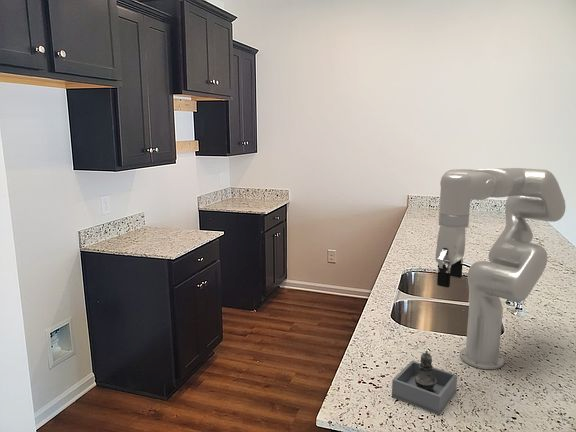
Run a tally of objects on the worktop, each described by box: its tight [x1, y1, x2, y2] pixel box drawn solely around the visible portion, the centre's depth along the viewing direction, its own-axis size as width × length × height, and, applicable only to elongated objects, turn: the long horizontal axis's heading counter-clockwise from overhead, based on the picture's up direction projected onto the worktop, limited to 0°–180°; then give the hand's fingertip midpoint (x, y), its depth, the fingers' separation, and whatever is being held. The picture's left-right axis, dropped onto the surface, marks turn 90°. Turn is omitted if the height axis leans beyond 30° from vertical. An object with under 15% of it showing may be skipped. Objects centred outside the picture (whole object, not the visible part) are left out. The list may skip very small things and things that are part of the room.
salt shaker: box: [414, 350, 436, 393], centre depth 122 cm, size 6×6×12 cm
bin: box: [391, 360, 458, 416], centre depth 123 cm, size 13×13×5 cm
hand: (449, 281), depth 123 cm, fingers open, 9 cm apart
